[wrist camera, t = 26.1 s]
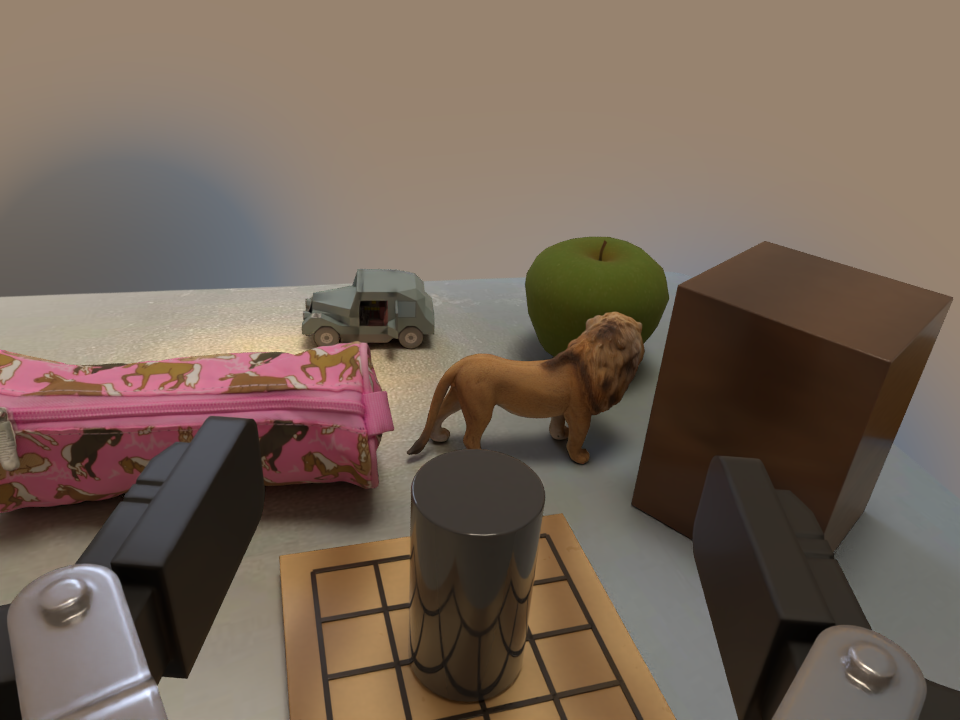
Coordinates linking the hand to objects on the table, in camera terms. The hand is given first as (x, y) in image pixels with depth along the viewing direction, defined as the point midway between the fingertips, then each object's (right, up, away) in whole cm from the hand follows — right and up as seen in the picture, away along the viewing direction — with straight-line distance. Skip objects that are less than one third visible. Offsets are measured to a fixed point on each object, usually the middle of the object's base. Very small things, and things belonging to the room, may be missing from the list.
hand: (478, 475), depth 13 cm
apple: (+8, +2, +45) cm, 45 cm away
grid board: (-1, -12, +19) cm, 23 cm away
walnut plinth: (+16, -7, +30) cm, 35 cm away
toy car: (-9, +3, +45) cm, 46 cm away
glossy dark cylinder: (-1, -11, +19) cm, 21 cm away
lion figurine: (+3, -4, +34) cm, 35 cm away
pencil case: (-16, -5, +29) cm, 34 cm away
